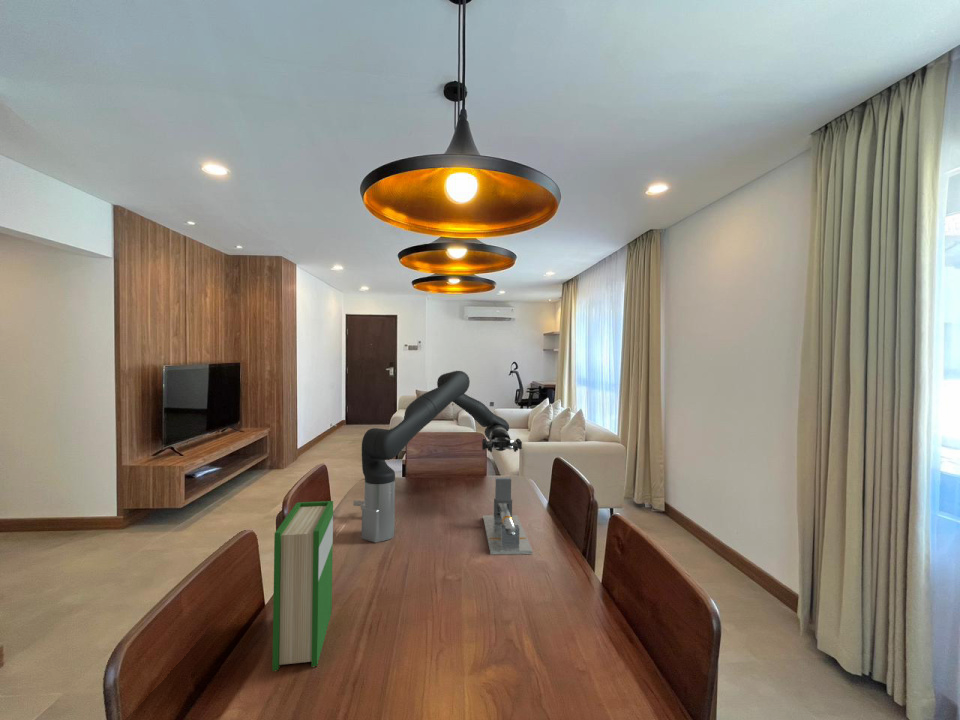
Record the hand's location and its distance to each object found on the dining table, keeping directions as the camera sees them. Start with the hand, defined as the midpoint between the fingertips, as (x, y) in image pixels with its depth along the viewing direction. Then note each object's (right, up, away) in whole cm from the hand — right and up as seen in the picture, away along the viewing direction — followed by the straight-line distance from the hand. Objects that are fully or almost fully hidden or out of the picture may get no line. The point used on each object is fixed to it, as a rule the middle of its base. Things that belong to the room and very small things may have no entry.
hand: (503, 449), depth 157 cm
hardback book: (-42, -23, -69) cm, 84 cm away
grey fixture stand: (0, -24, -14) cm, 28 cm away
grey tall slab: (0, -21, -7) cm, 22 cm away
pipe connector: (-47, -24, -1) cm, 53 cm away
